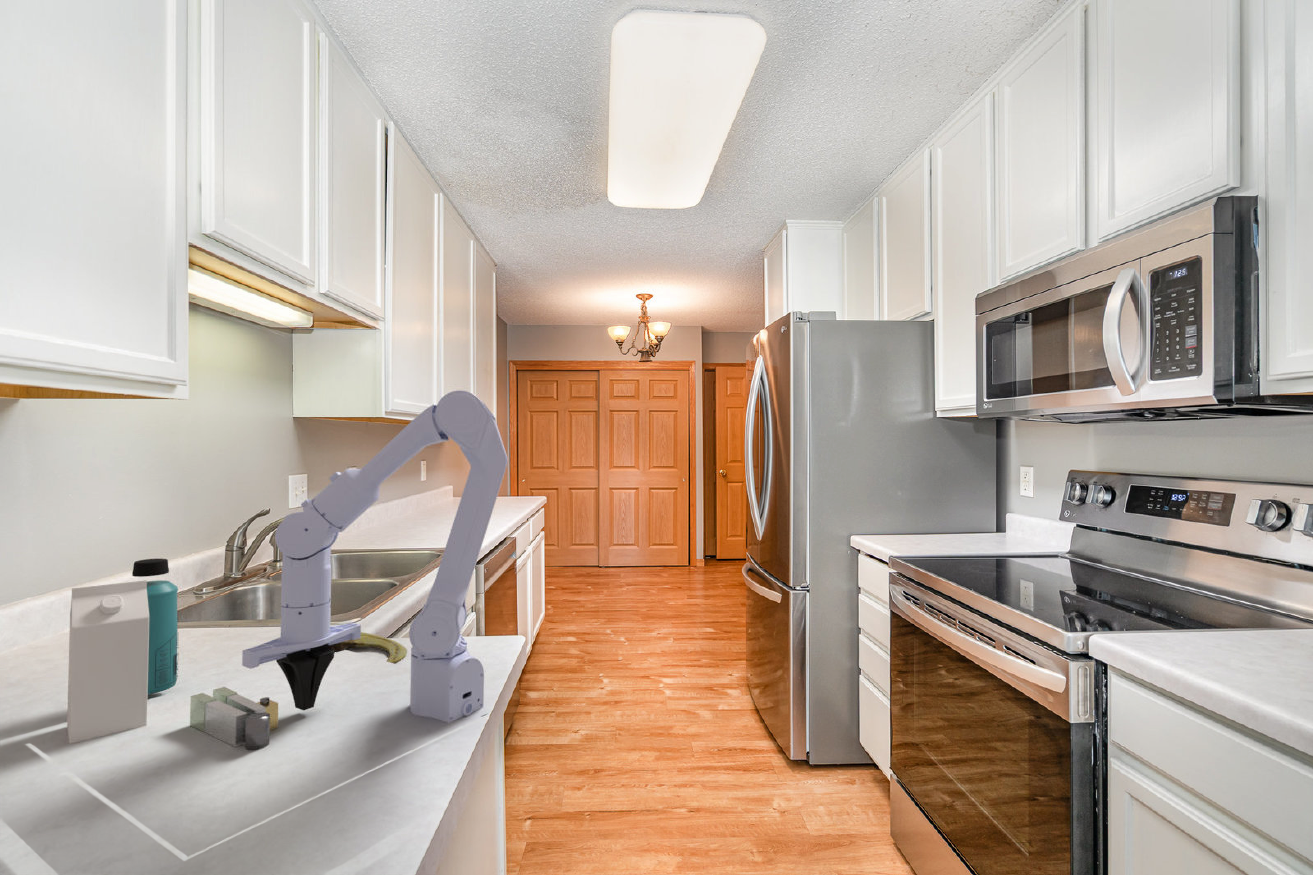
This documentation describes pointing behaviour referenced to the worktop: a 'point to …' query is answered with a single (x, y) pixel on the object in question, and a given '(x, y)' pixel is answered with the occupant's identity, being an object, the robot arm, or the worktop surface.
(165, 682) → the beverage bottle
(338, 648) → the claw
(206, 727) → the tongs fixed
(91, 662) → the milk carton
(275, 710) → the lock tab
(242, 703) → the bar
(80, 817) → the worktop surface
